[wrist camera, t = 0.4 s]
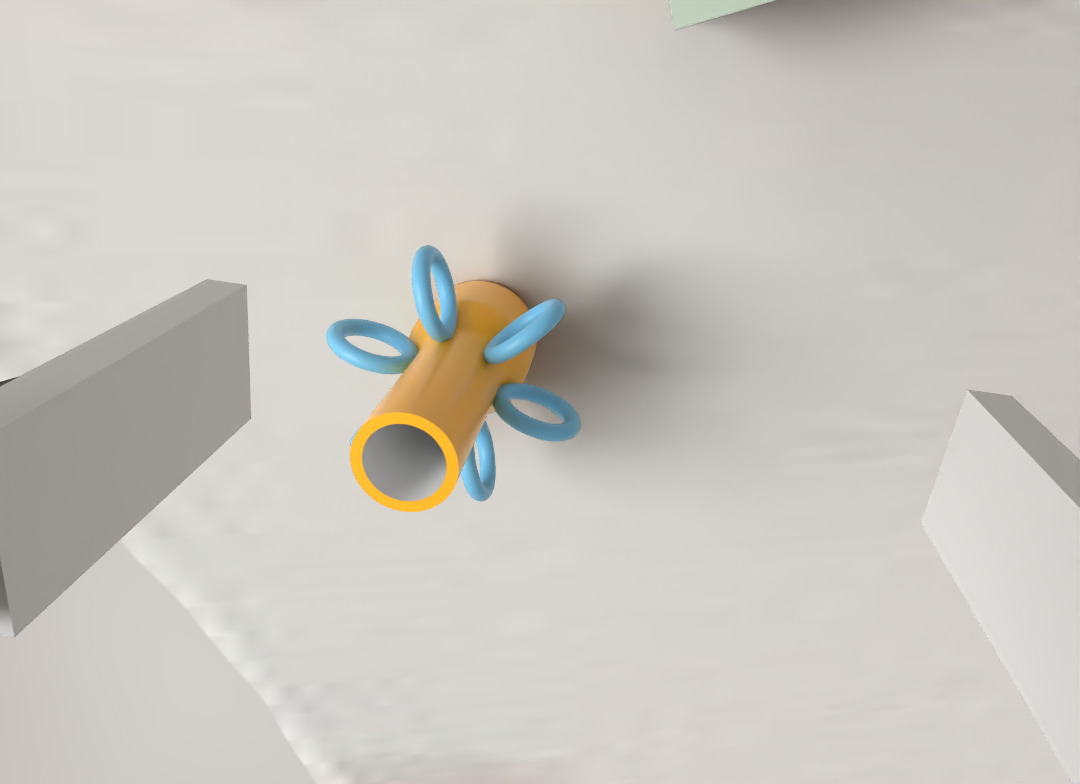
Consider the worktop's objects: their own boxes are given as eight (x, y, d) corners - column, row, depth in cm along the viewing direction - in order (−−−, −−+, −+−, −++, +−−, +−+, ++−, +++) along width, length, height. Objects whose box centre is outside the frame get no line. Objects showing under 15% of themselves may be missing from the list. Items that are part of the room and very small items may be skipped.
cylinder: (628, 287, 41) (618, 403, 27) (554, 456, 45) (513, 630, 32) (403, 195, 41) (278, 266, 27) (348, 374, 45) (216, 514, 31)
